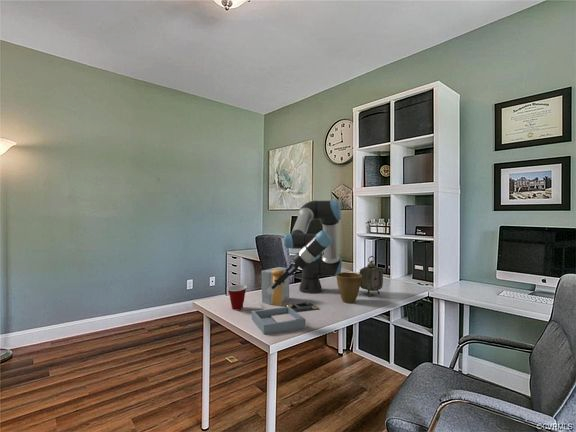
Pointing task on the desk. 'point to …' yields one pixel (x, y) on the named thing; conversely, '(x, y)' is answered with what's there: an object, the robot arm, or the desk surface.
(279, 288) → the pin
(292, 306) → the tensioner bracket
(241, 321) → the desk surface
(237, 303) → the plastic cup
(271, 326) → the pin tray
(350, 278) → the plant pot
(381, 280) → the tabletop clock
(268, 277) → the hard drive box
